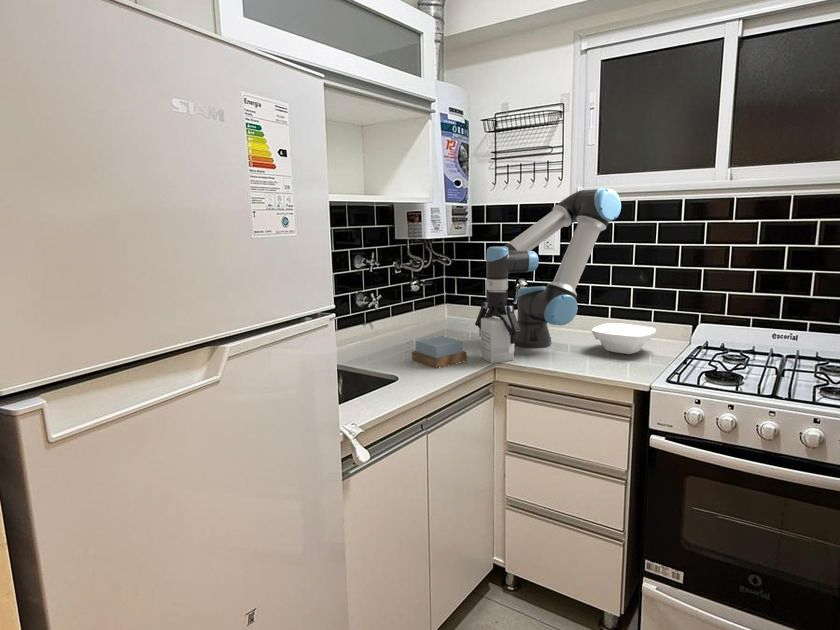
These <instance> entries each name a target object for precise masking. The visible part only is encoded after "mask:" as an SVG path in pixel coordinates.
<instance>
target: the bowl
mask: <svg viewBox="0 0 840 630" xmlns="http://www.w3.org/2000/svg"><path fill="white" fill-rule="evenodd" d="M656 332H657V329H656V328H655V327H650V326H645V325H638V324H637V325H636V324H630V323H619V322H618V323H617V322H616V323H615V322H609V323H603V324H600V325H597V326H595V327H593V328H592V329H591V333H592V334H593V336H594V338H595V340H597V341H598V340H599V342H600V343H601V345H602V346H603V348H604V350H605V351H608V352H612V353H618V354H627V355H631V354H636V353H639V351H640V350H641V349H642V347H643V346H644V344H645V343H647V342H649V341H650V340H652V338H653V336H654V335H655V334H656Z"/></svg>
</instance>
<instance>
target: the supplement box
mask: <svg viewBox="0 0 840 630" xmlns="http://www.w3.org/2000/svg"><path fill="white" fill-rule="evenodd" d="M508 334H509V332H508V330H507V328H506V327H505V325H504V323H503V321H502V320H501V319H500V318H499V317H496V316H493V317H490V318H481V346H480V349H481V353H480V354H481V355H480V356H481V359H483V360H485V361H487V362H489V363H491V364H494V363H496V364H497V363H503V362H504V361H505V362H511V361H510V360H513V361H515V360H514V353H515V351H514V352H512V353H507V352H508Z"/></svg>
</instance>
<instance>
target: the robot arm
mask: <svg viewBox="0 0 840 630" xmlns="http://www.w3.org/2000/svg"><path fill="white" fill-rule="evenodd" d="M621 209H622V202H621V200H620V196H619V194H618V193H617V192H616V191H615V190H614V189H611V188H604V187H602V188H595V189H582V190H578V191H576V192H574V193H572V194H570V195H568V196H567V197H565V198H563V200H561V201H560V202H558V203H556V205H554V206H553V207H552V210H551V211H550V212H548V213H547V214H546V215H545V216H543V217H542V218H541V219H539V220H538V221H537V222H535V223H533V224H532V225H531V226H530V227H528V228H527V229H526V230H524V231H523V232H522V233H520V234H519V235H518V236H516V237H514V239H512V240H510V241H509V242H507V243H506V244H505V245H504V246H489V247H488V248H487V250H486V255H485V256H486V257H485V258H486V259H485V262H486V263H485V265H486V290H487V291H486V301H483V302H481V304H480V309H479V313H478V315H477V317H476V321H475V323H474V325H475V326H476V327H478V328H479V329H478V330H479V339H480V343H479V344H480V347H481V318H490V317H499V318H500V319H501V320H502V321H503V323H504V325H505V327H506V328H507V330H508V332H509V334H508V352H507V353H512V352H514V353H515V346H516V347H522V348H529V349H530V348H531V349H536V348H537V349H539V348H545V347H549V346H551V345H552V337H551V334H550V330H549V326H548V324H549V325H552V326H560V327H561V326H565V325H568V324H569V323H571V322H572V321H573V320H574V318H575V317H576V315H577V314H578V302H577V296H578V294H577V291H576V288H577V287H578V284H579V281H580V279H581V276H582V275H583V272H584V270H585V268H586V265H587V263H588V260H589V259H590V256H591V253H592V252H593V249H594V247H595V244H596V242H597V240H598V237H599V235H600V233H601V232H602V231H605V230H606V229H607V227H608V225H609V223H610V221H614V220H616V219H617V218H618V217H619V215H620V213H621ZM576 222H577V226H576V227H575V230H574V232H573V235H572V236H571V239H570V241H569V244H568V246H567V248H566V251H565V252H564V253H565V254H564V255H563V257H562V260H561V262H560V264H559V267H558V269H557V272H556V274H555V276H554V279H553V281H551V282H549V283H547V285H546V286H545V285H544V286H543V285H541V286H528V287H520V288H518V290H517V296H516V297H517V299H516V300H517V317H516V314H515V308H514V307H515V306H514V305H507V302H508V300H509V292H508V289H509V274H512V273H514V274H515V273H530V272H534V271H536V270H537V268H538V267H539V260H540V259H539V256H538V253H536V252H535V251H534V250H533V249H535V248H536V247H538V246H539V245H540V244H543V242H544V241H546V240H547V239H548V238H550V237H552V235H554V234H555V233H557V232H558V231H559V230H562V228H564V227H566V228H567V227H569V226H571V225H572V224H574V223H576Z"/></svg>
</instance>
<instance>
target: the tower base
mask: <svg viewBox="0 0 840 630" xmlns="http://www.w3.org/2000/svg"><path fill="white" fill-rule="evenodd" d="M467 355H468V353H467V351H464V350H463V352H462V353H458V354H453V355H449V356H444V357H440V358H434V357H431V356H428V355H425V354H421V353H418V352H416V350H412V351H411V358H412V359H411V361H413V362H416V363H418V364H421V365H425V366H427V367H429V368H433V367H434V368H433V369H436V368H437V369H440V368H439V367H441V368H445V367H448V365H450V366H453V365H452V364H454V365H457V364H456V363H458V364H460V363H459V362H462V363H464V362H463V361H466V362H468V361H467V360H468V359H467V358H468V356H467ZM444 366H445V367H444Z"/></svg>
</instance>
